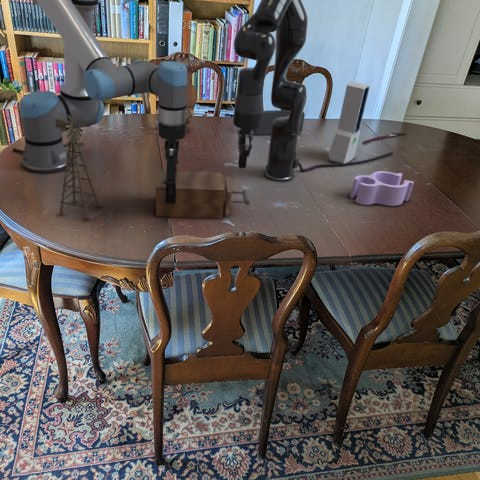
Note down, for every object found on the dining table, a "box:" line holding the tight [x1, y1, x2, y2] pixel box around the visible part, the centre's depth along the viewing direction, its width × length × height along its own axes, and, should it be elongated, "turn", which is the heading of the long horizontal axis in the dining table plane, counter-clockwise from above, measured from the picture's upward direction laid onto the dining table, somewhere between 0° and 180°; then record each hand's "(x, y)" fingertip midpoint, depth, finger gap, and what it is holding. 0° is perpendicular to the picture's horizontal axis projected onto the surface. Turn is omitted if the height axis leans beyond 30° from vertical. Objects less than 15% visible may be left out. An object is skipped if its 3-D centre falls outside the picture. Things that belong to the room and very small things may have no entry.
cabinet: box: [155, 170, 225, 219], centre depth 140 cm, size 20×11×10 cm, turn 95°
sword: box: [363, 132, 408, 145], centre depth 213 cm, size 31×3×1 cm, turn 126°
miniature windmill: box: [55, 109, 100, 220], centre depth 128 cm, size 9×8×30 cm
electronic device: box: [328, 80, 371, 164], centre depth 179 cm, size 12×8×30 cm, turn 148°
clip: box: [349, 170, 415, 207], centre depth 159 cm, size 20×12×7 cm, turn 109°
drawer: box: [223, 176, 251, 216], centre depth 141 cm, size 24×10×8 cm, turn 95°
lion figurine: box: [185, 108, 195, 133], centre depth 195 cm, size 15×5×9 cm, turn 110°
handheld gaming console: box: [252, 109, 306, 136], centre depth 203 cm, size 23×3×10 cm, turn 108°
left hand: (171, 193), depth 140 cm, fingers closed on cabinet, 11 cm apart
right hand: (242, 167), depth 137 cm, fingers closed
